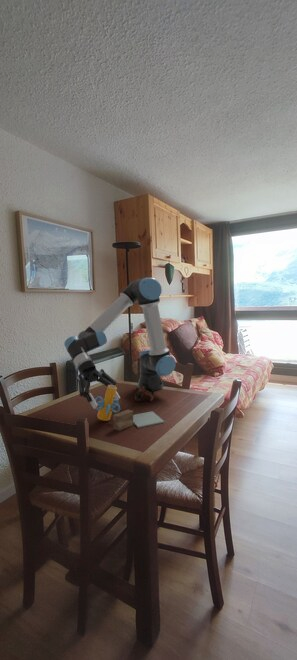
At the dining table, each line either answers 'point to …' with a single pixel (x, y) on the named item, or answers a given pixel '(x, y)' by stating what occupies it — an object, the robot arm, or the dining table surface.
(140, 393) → the pottery mug
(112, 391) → the yellow upright looped piece
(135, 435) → the dining table surface
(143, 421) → the mat
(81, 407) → the dining table surface
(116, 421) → the tan block
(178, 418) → the dining table surface
